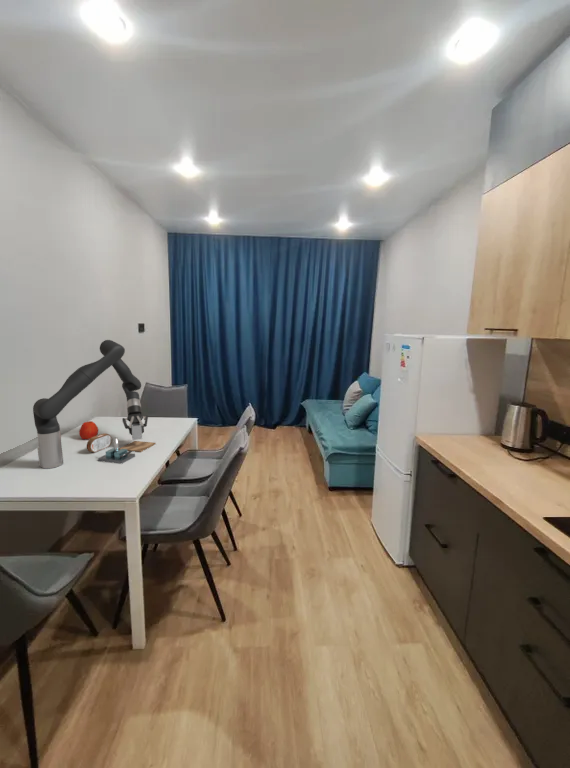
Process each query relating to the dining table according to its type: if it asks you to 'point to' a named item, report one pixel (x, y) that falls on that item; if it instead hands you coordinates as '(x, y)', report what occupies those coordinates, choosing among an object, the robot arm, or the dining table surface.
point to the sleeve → (136, 431)
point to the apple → (88, 430)
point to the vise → (116, 454)
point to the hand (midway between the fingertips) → (136, 433)
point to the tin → (99, 442)
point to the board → (137, 446)
